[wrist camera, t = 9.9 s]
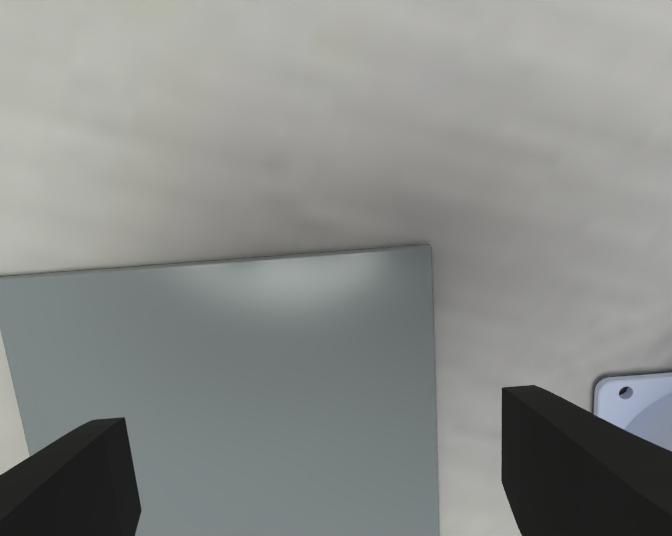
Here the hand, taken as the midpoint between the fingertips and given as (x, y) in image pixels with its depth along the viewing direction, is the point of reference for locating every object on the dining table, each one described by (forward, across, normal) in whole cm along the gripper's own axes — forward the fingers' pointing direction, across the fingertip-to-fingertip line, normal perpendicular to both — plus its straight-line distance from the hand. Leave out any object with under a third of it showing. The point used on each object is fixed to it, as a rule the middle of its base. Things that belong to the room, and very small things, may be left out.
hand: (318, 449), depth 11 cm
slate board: (+10, +4, +12) cm, 16 cm away
